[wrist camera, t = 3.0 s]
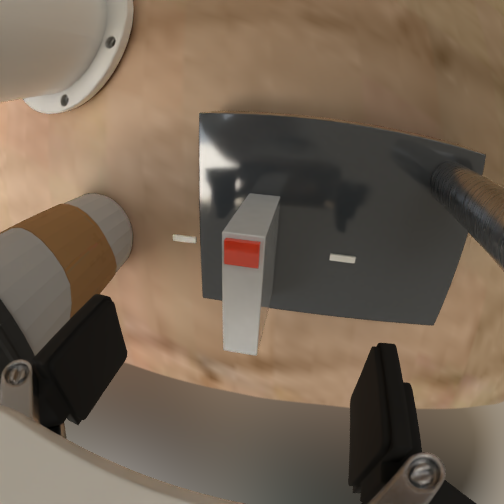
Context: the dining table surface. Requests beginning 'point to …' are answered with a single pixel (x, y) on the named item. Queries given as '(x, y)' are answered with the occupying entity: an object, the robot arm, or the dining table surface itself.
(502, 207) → the spout
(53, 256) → the coffee cup
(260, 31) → the dining table surface
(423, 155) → the base
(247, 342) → the tap handle
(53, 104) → the robot arm
